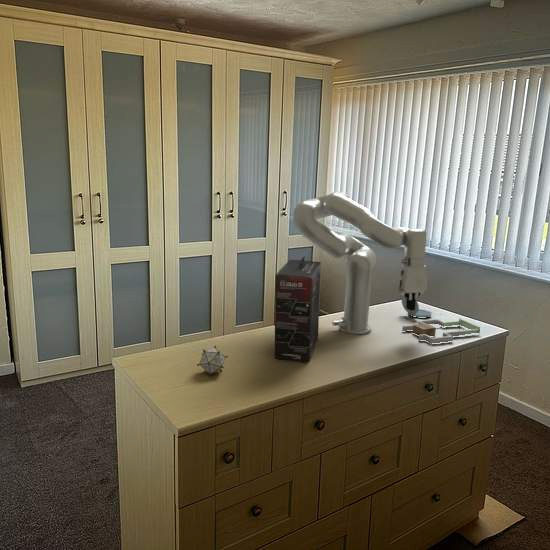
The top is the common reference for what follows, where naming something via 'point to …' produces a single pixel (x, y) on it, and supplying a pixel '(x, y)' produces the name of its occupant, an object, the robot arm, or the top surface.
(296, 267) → the headset box
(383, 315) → the top surface
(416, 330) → the walnut block
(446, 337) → the box
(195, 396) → the top surface
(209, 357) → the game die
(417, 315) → the pocket watch
